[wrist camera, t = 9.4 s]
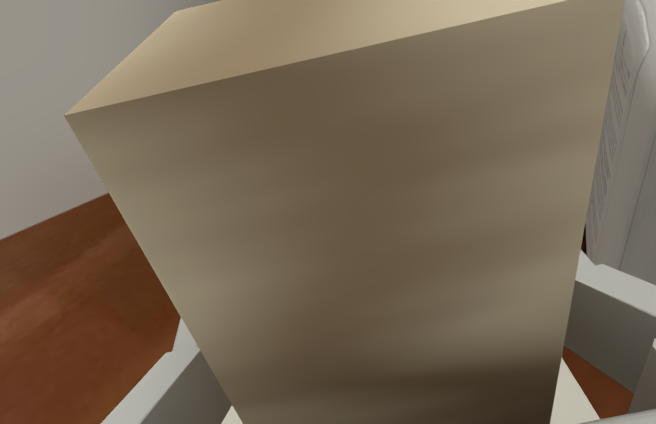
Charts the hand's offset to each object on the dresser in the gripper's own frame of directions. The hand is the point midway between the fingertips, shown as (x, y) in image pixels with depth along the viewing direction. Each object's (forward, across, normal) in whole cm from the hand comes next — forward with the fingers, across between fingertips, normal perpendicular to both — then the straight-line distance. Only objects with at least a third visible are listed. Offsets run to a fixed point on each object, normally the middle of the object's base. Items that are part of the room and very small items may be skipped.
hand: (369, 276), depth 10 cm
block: (-1, 0, +6) cm, 6 cm away
